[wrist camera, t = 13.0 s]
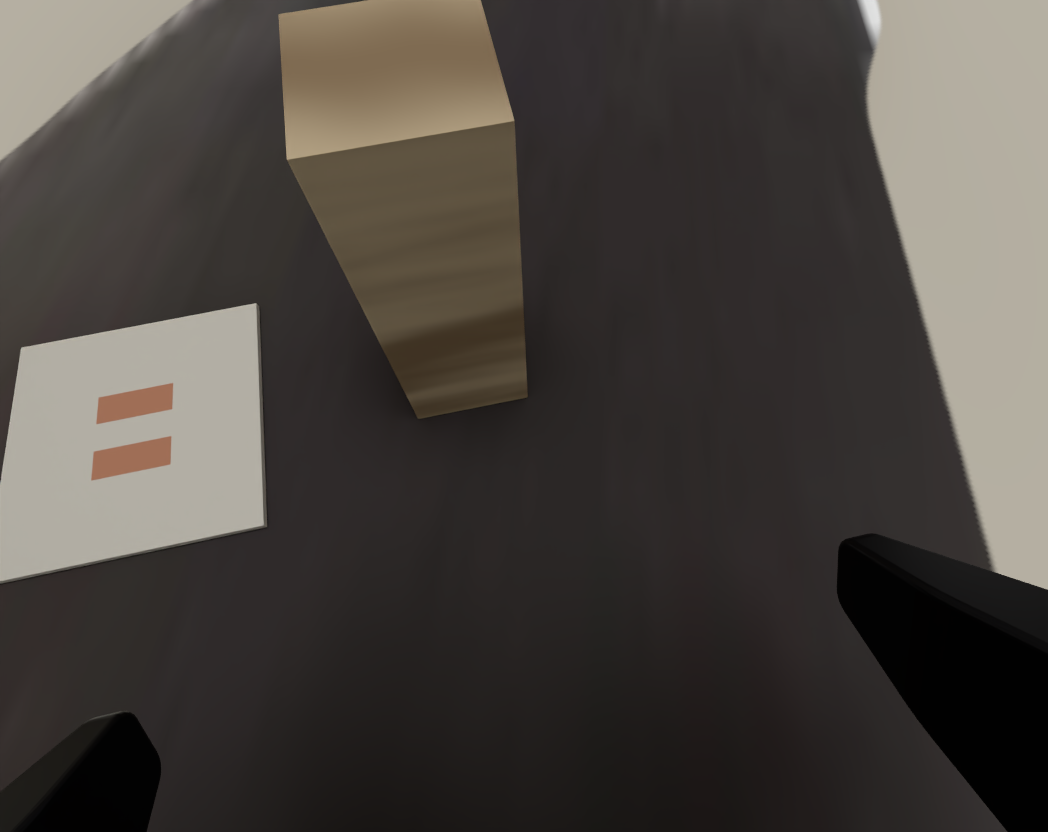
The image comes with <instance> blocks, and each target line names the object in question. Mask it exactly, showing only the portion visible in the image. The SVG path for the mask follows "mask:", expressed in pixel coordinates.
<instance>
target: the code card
mask: <svg viewBox="0 0 1048 832" xmlns="http://www.w3.org/2000/svg"><path fill="white" fill-rule="evenodd" d="M265 527H267V507H266V479H265V451H264V423H263V395H262V367H261V339H260V311H259V306H258V305H257V304H256V303H255V304H250V305H245V306H239V307H234V308H229V309H223V310H218V311H213V312H208V313H202V314H197V315H192V316H187V317H181V318H176V319H171V320H166V321H160V322H155V323H150V324H144V325H139V326H134V327H129V328H123V329H118V330H113V331H108V332H102V333H97V334H92V335H87V336H81V337H76V338H71V339H65V340H60V341H55V342H50V343H44V344H39V345H34V346H29V347H23V348H21V353H20V360H19V366H18V372H17V379H16V385H15V392H14V398H13V405H12V411H11V418H10V424H9V431H8V437H7V444H6V450H5V457H4V463H3V470H2V476H1V482H0V584H2V583H6V582H11V581H16V580H21V579H25V578H30V577H35V576H39V575H44V574H49V573H53V572H58V571H63V570H68V569H72V568H77V567H82V566H86V565H91V564H96V563H101V562H105V561H110V560H115V559H119V558H124V557H129V556H133V555H138V554H143V553H148V552H152V551H157V550H162V549H166V548H171V547H176V546H181V545H185V544H190V543H195V542H199V541H204V540H209V539H213V538H218V537H223V536H228V535H232V534H237V533H242V532H246V531H251V530H256V529H261V528H265Z"/></svg>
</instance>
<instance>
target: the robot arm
mask: <svg viewBox="0 0 1048 832" xmlns="http://www.w3.org/2000/svg"><path fill="white" fill-rule="evenodd" d="M837 594H838V599H839V602H840V604H841V606H842V608H843V610H844V612H845V613H846V615H847V616H848V618H849V619H850V621H851V622H852V624H853V625H854V627H855V628H856V630H857V631H858V632H859V634H860V635H861V637H862V638H863V640H864V641H865V643H866V644H867V646H868V647H869V649H870V650H871V652H872V653H873V655H874V656H875V658H876V659H877V661H878V662H879V664H880V665H881V667H882V668H883V670H884V671H885V673H886V674H887V676H888V677H889V679H890V680H891V682H892V683H893V685H894V686H895V688H896V689H897V691H898V692H899V694H900V695H901V697H902V698H903V700H904V701H905V703H906V704H907V705H908V707H909V708H910V710H911V711H912V713H913V714H914V715H915V717H916V718H917V720H918V721H919V722H920V723H921V725H922V726H923V727H924V729H925V730H926V731H927V732H928V734H929V735H930V736H931V738H932V739H933V740H934V741H935V743H936V744H937V745H938V746H939V747H940V749H941V750H942V751H943V752H944V754H945V755H946V756H947V757H948V759H949V760H950V761H951V762H952V764H953V765H954V766H955V767H956V768H957V770H958V771H959V772H960V773H961V775H962V776H963V777H964V778H965V780H966V781H967V782H968V783H969V785H970V786H971V787H972V788H973V790H974V791H975V792H976V793H977V794H978V796H979V797H980V798H981V799H982V801H983V802H984V803H985V804H986V806H987V807H988V808H989V809H990V811H991V812H992V813H993V814H994V815H995V817H996V818H997V819H998V820H999V822H1000V823H1001V824H1002V825H1003V827H1004V828H1005V829H1006V830H1007V832H1048V590H1047V589H1044V588H1041V587H1037V586H1034V585H1031V584H1029V583H1025V582H1022V581H1019V580H1016V579H1013V578H1010V577H1007V576H1004V575H1001V574H998V573H995V572H992V571H989V570H986V569H983V568H980V567H977V566H973V565H970V564H967V563H964V562H961V561H958V560H955V559H952V558H949V557H946V556H943V555H940V554H937V553H934V552H931V551H928V550H925V549H921V548H918V547H915V546H912V545H909V544H906V543H903V542H900V541H897V540H894V539H891V538H888V537H885V536H882V535H879V534H873V533H871V534H865V535H860V536H856V537H852V538H848V539H845V540H844V541H842V542H841V544H840V546H839V550H838V572H837ZM160 776H161V762H160V758H159V755H158V753H157V751H156V749H155V748H154V746H153V744H152V743H151V741H150V739H149V738H148V736H147V734H146V733H145V731H144V729H143V728H142V726H141V724H140V723H139V721H138V719H137V718H136V716H135V715H134V714H132V713H130V712H128V711H120V712H115V713H111V714H107V715H103V716H99V717H95V718H92V719H90V720H88V721H86V722H85V723H84V724H82V725H81V726H80V727H79V728H78V729H76V730H75V731H74V732H73V733H71V734H70V735H69V736H68V737H67V738H65V739H64V740H63V741H62V742H60V743H59V744H58V745H57V746H56V747H54V748H53V749H52V750H51V751H50V752H48V753H47V754H46V755H45V756H43V757H42V758H41V759H40V760H39V761H37V762H36V763H35V764H34V765H32V766H31V767H30V768H29V769H28V770H26V771H25V772H24V773H23V774H22V775H20V776H19V777H18V778H17V779H15V780H14V781H13V782H12V783H11V784H9V785H8V786H7V787H6V788H4V789H3V790H2V791H1V792H0V832H147V828H148V824H149V820H150V816H151V812H152V808H153V804H154V801H155V797H156V793H157V789H158V785H159V781H160Z"/></svg>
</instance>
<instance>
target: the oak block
mask: <svg viewBox="0 0 1048 832" xmlns="http://www.w3.org/2000/svg"><path fill="white" fill-rule="evenodd" d="M279 29H280V47H281V64H282V82H283V99H284V117H285V134H286V152H287V161H288V163H289V165H290V167H291V169H292V171H293V173H294V175H295V177H296V179H297V181H298V183H299V185H300V187H301V189H302V191H303V192H304V194H305V196H306V198H307V200H308V202H309V204H310V206H311V208H312V210H313V212H314V214H315V216H316V218H317V220H318V222H319V224H320V226H321V228H322V230H323V232H324V234H325V236H326V238H327V240H328V242H329V244H330V246H331V248H332V250H333V252H334V254H335V256H336V258H337V260H338V262H339V264H340V266H341V268H342V270H343V271H344V273H345V275H346V277H347V279H348V281H349V283H350V285H351V287H352V289H353V291H354V293H355V295H356V297H357V299H358V301H359V303H360V305H361V307H362V309H363V311H364V313H365V315H366V317H367V319H368V321H369V323H370V325H371V327H372V329H373V331H374V333H375V335H376V337H377V339H378V341H379V343H380V345H381V347H382V349H383V350H384V352H385V354H386V356H387V358H388V360H389V362H390V364H391V366H392V368H393V370H394V372H395V374H396V376H397V378H398V380H399V382H400V384H401V386H402V388H403V390H404V392H405V394H406V396H407V398H408V400H409V402H410V404H411V406H412V408H413V410H414V412H415V414H416V416H417V418H418V419H421V418H426V417H431V416H437V415H442V414H447V413H452V412H457V411H462V410H467V409H472V408H477V407H482V406H487V405H492V404H497V403H502V402H507V401H512V400H517V399H522V398H527V397H528V394H527V373H526V352H525V331H524V311H523V290H522V269H521V248H520V228H519V207H518V186H517V165H516V144H515V124H514V118H513V114H512V111H511V107H510V104H509V100H508V96H507V93H506V89H505V86H504V82H503V79H502V75H501V71H500V68H499V64H498V61H497V57H496V54H495V50H494V46H493V43H492V39H491V36H490V32H489V29H488V25H487V21H486V18H485V14H484V11H483V7H482V4H481V0H367V1H361V2H355V3H348V4H342V5H335V6H329V7H323V8H316V9H310V10H304V11H297V12H291V13H284V14H279Z"/></svg>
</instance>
